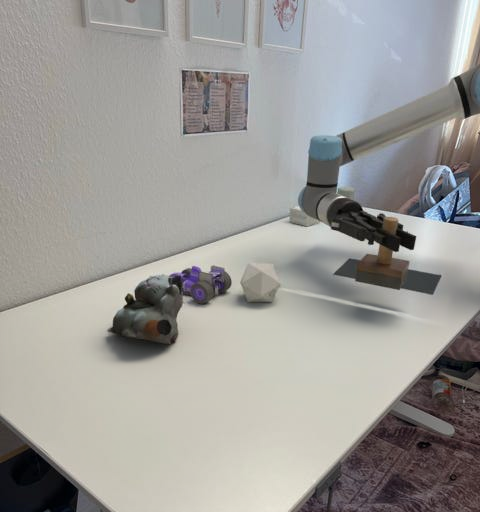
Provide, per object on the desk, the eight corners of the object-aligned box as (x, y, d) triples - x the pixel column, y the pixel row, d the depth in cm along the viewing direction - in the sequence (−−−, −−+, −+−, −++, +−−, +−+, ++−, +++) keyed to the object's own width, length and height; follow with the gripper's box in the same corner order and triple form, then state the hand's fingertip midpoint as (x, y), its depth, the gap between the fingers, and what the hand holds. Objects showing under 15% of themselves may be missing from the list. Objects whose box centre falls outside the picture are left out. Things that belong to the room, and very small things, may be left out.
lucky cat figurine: (100, 329, 93) (118, 260, 93) (158, 340, 99) (174, 275, 99) (120, 342, 80) (140, 262, 80) (185, 355, 86) (204, 280, 86)
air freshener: (357, 214, 176) (361, 187, 171) (358, 220, 169) (362, 191, 164) (327, 212, 178) (330, 185, 173) (327, 218, 170) (330, 190, 166)
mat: (440, 279, 121) (441, 275, 121) (432, 298, 110) (432, 294, 110) (348, 261, 131) (349, 258, 131) (332, 277, 120) (332, 274, 120)
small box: (320, 222, 165) (321, 207, 163) (306, 227, 160) (308, 211, 158) (302, 218, 170) (303, 203, 168) (288, 222, 165) (289, 207, 162)
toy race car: (181, 277, 118) (180, 252, 115) (231, 292, 111) (232, 265, 108) (155, 290, 111) (153, 264, 108) (207, 306, 104) (207, 278, 101)
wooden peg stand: (406, 278, 101) (417, 217, 95) (399, 290, 95) (411, 226, 89) (364, 270, 104) (372, 211, 98) (355, 281, 99) (363, 219, 93)
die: (266, 314, 102) (292, 274, 102) (231, 292, 102) (256, 252, 101) (263, 310, 111) (286, 274, 110) (230, 290, 110) (253, 253, 109)
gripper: (367, 226, 115) (435, 258, 95) (308, 232, 109) (367, 267, 90) (372, 194, 111) (443, 221, 92) (311, 199, 106) (373, 228, 86)
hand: (405, 244), depth 91 cm, fingers closed on wooden peg stand, 3 cm apart
